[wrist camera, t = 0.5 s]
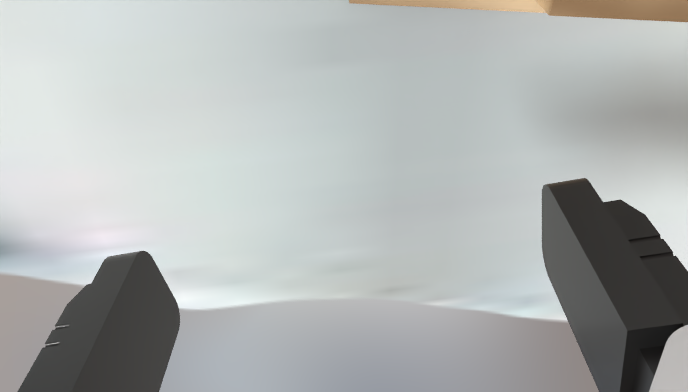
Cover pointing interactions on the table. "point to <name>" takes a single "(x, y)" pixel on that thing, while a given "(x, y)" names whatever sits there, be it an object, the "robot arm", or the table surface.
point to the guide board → (564, 7)
